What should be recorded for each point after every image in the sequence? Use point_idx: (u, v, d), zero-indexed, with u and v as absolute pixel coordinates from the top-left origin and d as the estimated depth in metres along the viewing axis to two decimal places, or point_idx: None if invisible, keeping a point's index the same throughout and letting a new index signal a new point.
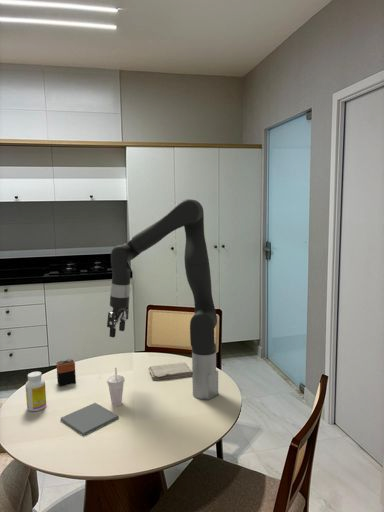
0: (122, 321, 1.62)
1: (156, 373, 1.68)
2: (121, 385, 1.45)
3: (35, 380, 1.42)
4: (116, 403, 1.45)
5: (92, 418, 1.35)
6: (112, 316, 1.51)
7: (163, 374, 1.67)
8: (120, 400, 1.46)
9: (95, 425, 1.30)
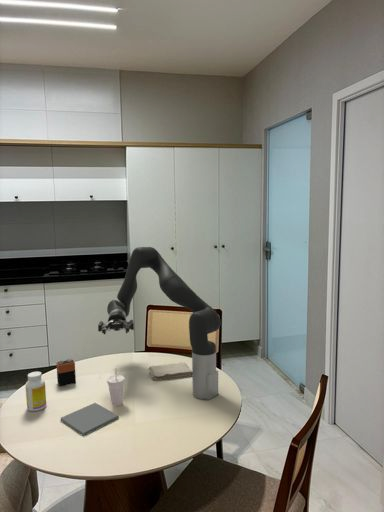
0: (126, 327, 1.59)
1: (156, 373, 1.68)
2: (121, 385, 1.45)
3: (35, 380, 1.42)
4: (116, 403, 1.45)
5: (92, 418, 1.35)
6: None
7: (163, 374, 1.67)
8: (120, 400, 1.46)
9: (95, 425, 1.30)
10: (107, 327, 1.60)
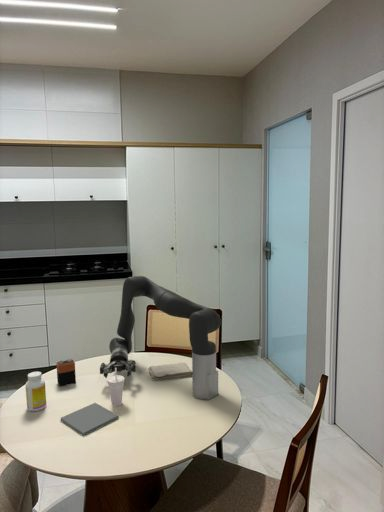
0: None
1: (156, 373, 1.68)
2: (121, 385, 1.45)
3: (35, 380, 1.42)
4: (116, 403, 1.45)
5: (92, 418, 1.35)
6: (101, 365, 1.62)
7: (163, 374, 1.67)
8: (120, 400, 1.46)
9: (95, 425, 1.30)
10: (109, 369, 1.60)
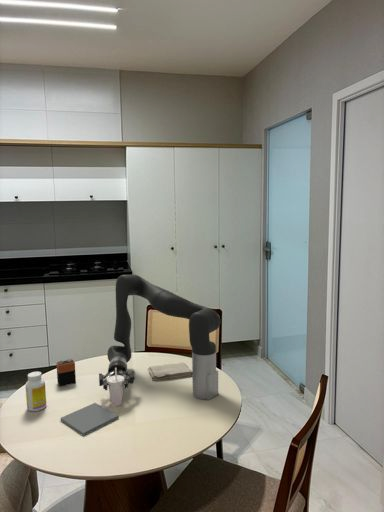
0: None
1: (156, 373, 1.68)
2: (121, 385, 1.45)
3: (35, 380, 1.42)
4: (116, 403, 1.45)
5: (92, 418, 1.35)
6: None
7: (163, 374, 1.67)
8: (120, 400, 1.46)
9: (95, 425, 1.30)
10: None
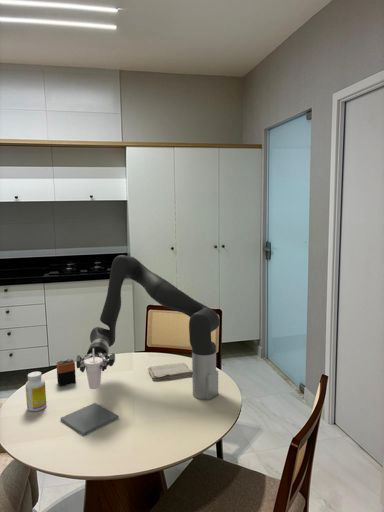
0: None
1: (156, 373, 1.68)
2: (99, 367, 1.36)
3: (35, 380, 1.42)
4: (94, 386, 1.36)
5: (92, 418, 1.35)
6: None
7: (163, 374, 1.66)
8: (98, 383, 1.37)
9: (95, 425, 1.30)
10: None
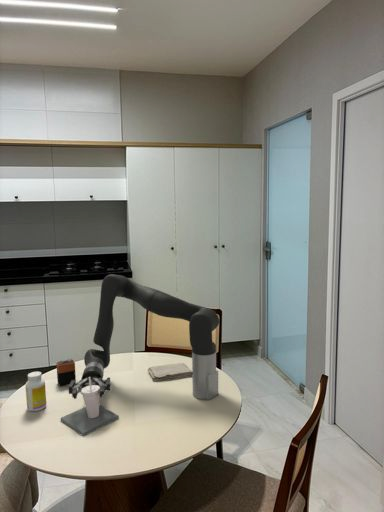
0: None
1: (156, 374, 1.67)
2: (96, 395, 1.34)
3: (35, 380, 1.42)
4: (92, 415, 1.35)
5: (92, 418, 1.35)
6: None
7: (163, 375, 1.66)
8: (97, 412, 1.35)
9: (95, 425, 1.30)
10: (79, 388, 1.38)
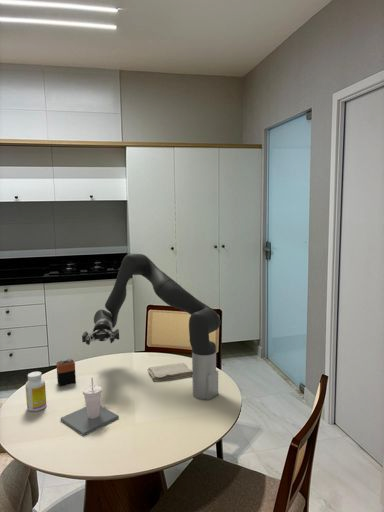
0: None
1: (156, 374, 1.67)
2: (98, 396, 1.34)
3: (35, 380, 1.42)
4: (92, 415, 1.35)
5: None
6: None
7: (163, 375, 1.66)
8: (97, 412, 1.35)
9: (95, 425, 1.30)
10: (91, 337, 1.55)
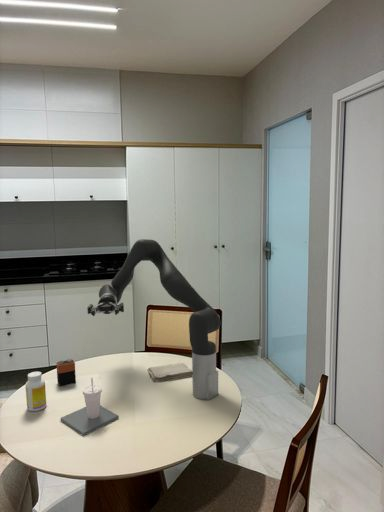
0: None
1: (156, 374, 1.67)
2: (98, 396, 1.34)
3: (35, 380, 1.42)
4: (92, 415, 1.35)
5: None
6: None
7: (164, 375, 1.66)
8: (97, 412, 1.35)
9: (95, 425, 1.30)
10: (97, 309, 1.58)
